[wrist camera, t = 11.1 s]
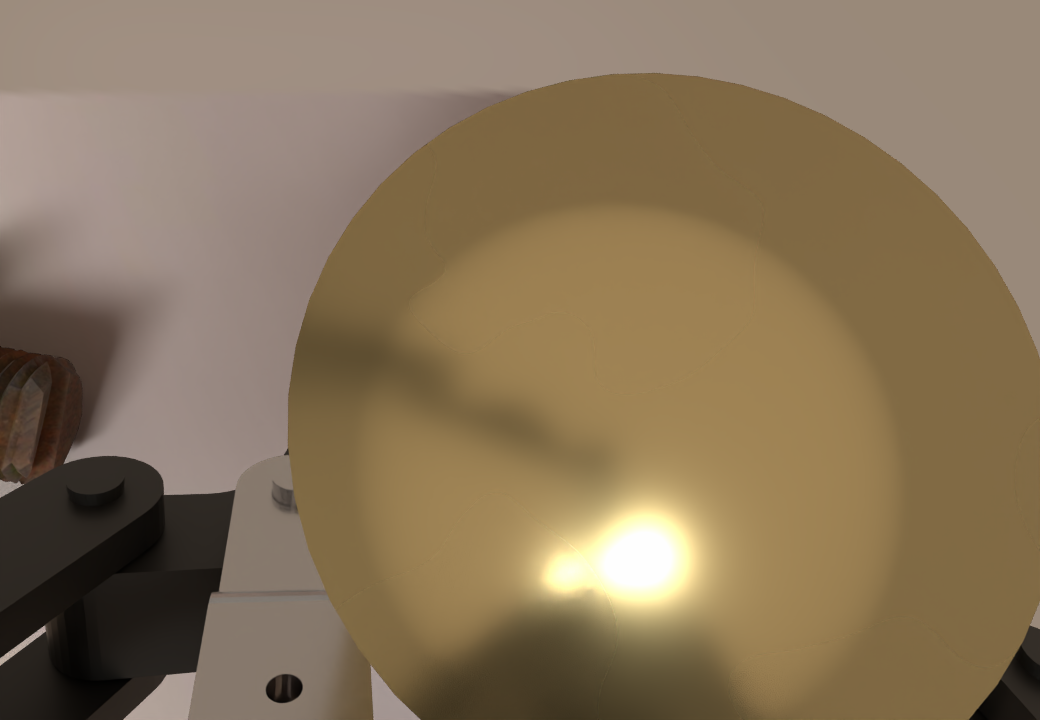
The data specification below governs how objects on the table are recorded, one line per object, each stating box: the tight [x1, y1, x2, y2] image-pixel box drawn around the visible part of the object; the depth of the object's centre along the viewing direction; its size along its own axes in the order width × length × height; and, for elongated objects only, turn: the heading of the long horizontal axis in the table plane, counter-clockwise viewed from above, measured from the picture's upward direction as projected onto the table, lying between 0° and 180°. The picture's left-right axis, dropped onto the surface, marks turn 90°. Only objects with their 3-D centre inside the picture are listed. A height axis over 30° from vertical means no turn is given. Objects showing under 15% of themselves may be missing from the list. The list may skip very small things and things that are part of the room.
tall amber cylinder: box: [288, 73, 1040, 720], centre depth 13 cm, size 4×4×18 cm
